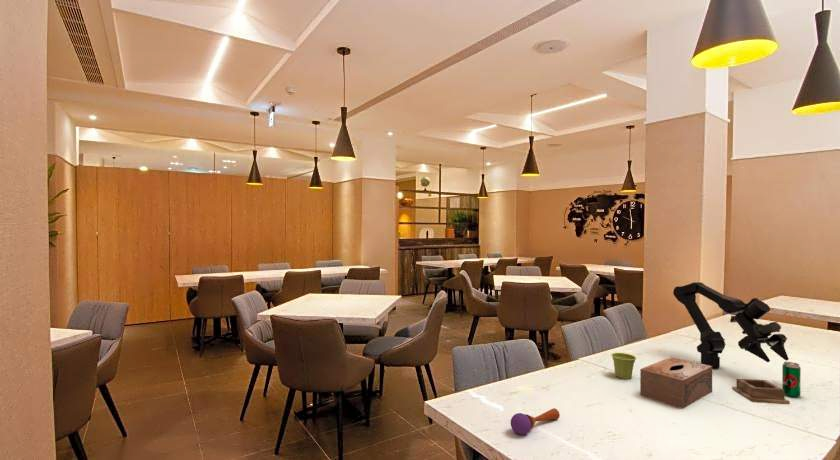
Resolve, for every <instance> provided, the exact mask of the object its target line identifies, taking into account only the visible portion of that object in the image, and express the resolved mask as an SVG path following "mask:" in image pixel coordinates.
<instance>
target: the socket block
mask: <svg viewBox="0 0 840 460" xmlns="http://www.w3.org/2000/svg"><path fill="white" fill-rule="evenodd" d="M731 389H732V391H735V392H736V393H738V394H740V395H741V396H742V397H744V398H746V399H747V400H749V401H750V402H751V403H763V404H764V403H765V404H781V405H782V404H784V405H790V404H791V403H790V400H789V399H787V398H785V397H786V395H785V390H783V389H782V387H779V385H778V386H777V385H775V384H773V383H772V382H770V381H768V380H766V379H750V378H749V379H748V378H736V386H732V387H731Z"/></svg>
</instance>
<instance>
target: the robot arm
mask: <svg viewBox="0 0 840 460" xmlns="http://www.w3.org/2000/svg"><path fill="white" fill-rule="evenodd" d="M672 293H673V296H674V298H675V299H676V300H677V301H678V302H680V303H681V304H682V305H683V306H685V308H686V309H685V310H686V311H687V312H688V314H689V316H690V318H691V319H692V321H693V323H694V325H695V326H696V328H697V330H698V331H699V334H700V337H699V338H700V339H699V340H700V342H701V343H699V345H698V344H697V346H696V350H697V353H700V363H701V364H705V365H709V366H712V370H718V369H719V368H720V367H721V357H720V356H719V354H722V353H723V351H724V350H725V347H726V342H725V341H726V339H725V338H724V337H723V336H722V333H721V332H720V331H714V329H712V327H711V326H710V323H709V321H708V320H707V319H706V317H705V315H704V313H703V312H702V310H701V309H700V306H699V305H698V303H697V301H696V298H697V294H700V295H701V296H703V297H704V298H706V299H708V300H709V301H712V302H714V303H716V304H717V305H718V307H719V309H721V310H722V311H723V312H724V313H726V314H734V315H730V317H731V318H730V320H729V322H730V323H737V325H738V326H739V327H740V328H741V329H742V331H741V333H742V334H743V335H745V336H744V337H743V338H741V339H740V340H739V341H738V342H737V343H738V344H737V345H738V347H739V348H740V349H741V350H744V351H745V352H749V353H750V354H753V355H754V356H756V357H758V358H760V359H761V360H763V361H765V362H767V363H769V362H770V361H771V359H770V358H769V356H768V355H767V353H766V352H765V351H764V349H763V348H762V344H766V345H767V346H769V349H770V350H771V351H772V352H774V353H775V354H777V355H778V356H779V357H781V358H782V359H783V361H784V360H785V362H788V361H789V360H790V359H789V356H788V354H787V353H788V352H787V351H786V348H785V343H787V340H788V338H787V336H786V335H785V334H783V333H779V332H781V330H782V326H781V325H780V324H779V323H778V322H777V321H772V322H769V323H766V324H762V323H758V322H757V321H756V320H760V319H761V318H763V317H764V316H765V315H766V314H767V313H769V312H770V311H771V308H770V306H769V304H768V303H765V302H764V301H762V300H759V299H758V298H757V297H755V298H753V297H752V298H751V300H749V302H748V303H747V302H744V300H741V299H739V298H737V297H733V296H727V295H725V294H722V292H719V291H717V290H715V289H713V288H712V287H709V286H707V285H706V284H704V283H703V282H701V281H700V282H695V281H694V282H691V283H688V284H685V285H681V286H680V285H679V286H675V287H674V288H673V291H672ZM773 333H774V334H773Z"/></svg>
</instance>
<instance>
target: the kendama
mask: <svg viewBox="0 0 840 460" xmlns="http://www.w3.org/2000/svg"><path fill="white" fill-rule="evenodd" d="M560 416H561V414H560V412H559V410H558V409H557V408H555V407H554V408H551V409H549V410H547V411H545V412H543V413H541V414H540V415H537V416H535V417H534V416H533V415H529V414H525V413H522V412H518V413H515V414H514V415H512V417H511V418H510V428H511V429H512V431H513V432H514V434H517V435H519V436H523V435H527V434H528V433H529V431H530V430H531V429H533V427H534V426H535V424H536V422H544V421H552V420H554V421H555V420H558V419H560Z"/></svg>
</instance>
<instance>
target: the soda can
mask: <svg viewBox="0 0 840 460" xmlns="http://www.w3.org/2000/svg"><path fill="white" fill-rule="evenodd" d="M801 370H802V369H801V366H800V364H799V363H797V362H794V361H783V363H782V370H781V371H782V375H781V376H782V378H781V379H782V381H781V382H782V384H781V385H782V387H781V389H783V390H785V397H786V396H787V397H790V398H799V397H801V384H802V383H801V379H802V378H801V377H802V376H801V372H802V371H801Z"/></svg>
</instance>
